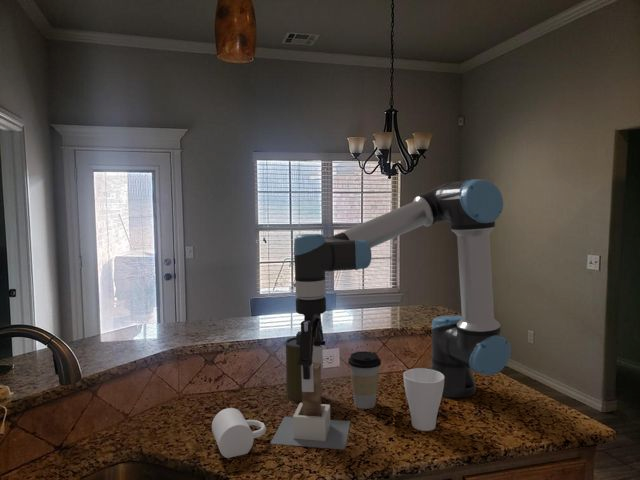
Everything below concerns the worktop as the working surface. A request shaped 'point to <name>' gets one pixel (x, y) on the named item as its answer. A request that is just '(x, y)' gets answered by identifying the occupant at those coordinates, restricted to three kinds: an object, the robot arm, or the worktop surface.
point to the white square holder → (311, 424)
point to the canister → (293, 369)
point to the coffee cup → (364, 378)
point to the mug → (235, 432)
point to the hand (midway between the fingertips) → (313, 380)
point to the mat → (333, 440)
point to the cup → (423, 396)
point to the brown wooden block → (313, 395)
